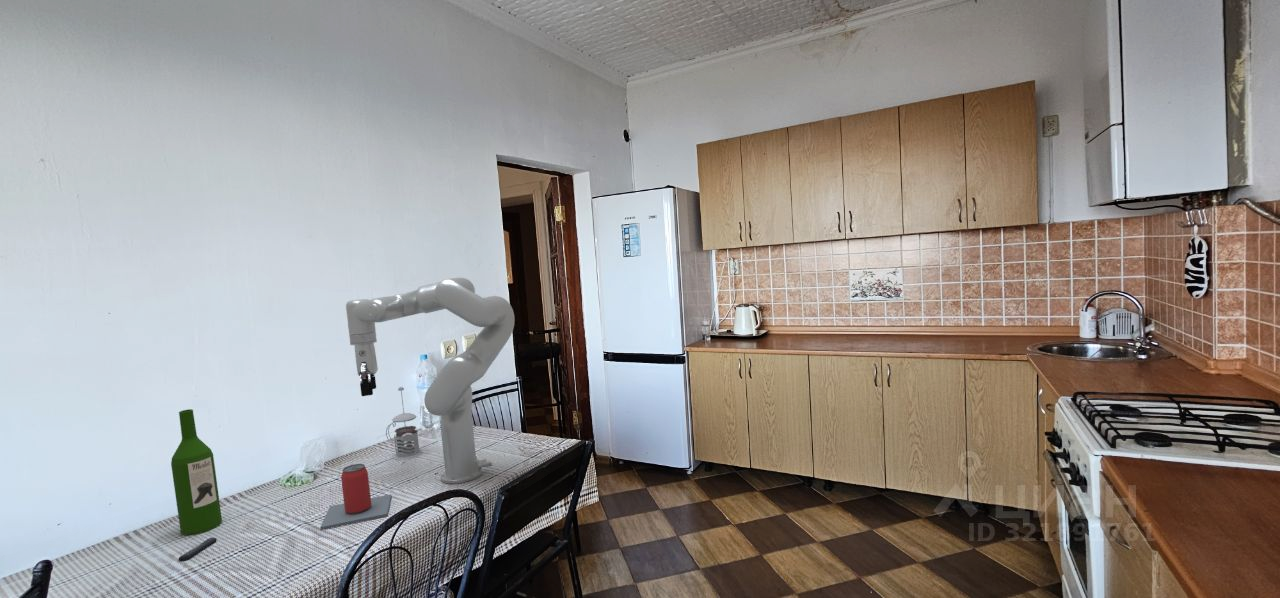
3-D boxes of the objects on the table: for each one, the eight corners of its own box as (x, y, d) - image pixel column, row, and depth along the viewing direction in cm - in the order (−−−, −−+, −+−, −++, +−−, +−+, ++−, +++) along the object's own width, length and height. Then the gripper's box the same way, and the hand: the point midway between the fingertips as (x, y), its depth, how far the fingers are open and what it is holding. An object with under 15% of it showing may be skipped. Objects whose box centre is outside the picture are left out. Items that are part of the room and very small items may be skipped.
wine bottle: (194, 537, 147) (178, 416, 145) (173, 533, 150) (156, 415, 148) (229, 521, 155) (214, 406, 153) (208, 518, 159) (193, 405, 156)
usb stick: (208, 542, 144) (207, 537, 144) (218, 542, 144) (217, 536, 144) (177, 562, 135) (176, 556, 135) (188, 562, 135) (187, 556, 135)
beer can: (360, 515, 151) (355, 472, 150) (339, 514, 152) (334, 471, 152) (376, 504, 158) (372, 462, 157) (356, 503, 159) (351, 462, 158)
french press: (416, 459, 196) (408, 389, 194) (383, 461, 196) (375, 391, 194) (427, 449, 205) (420, 382, 203) (395, 451, 206) (388, 385, 204)
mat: (391, 496, 164) (391, 494, 164) (387, 516, 151) (387, 513, 151) (330, 508, 159) (329, 506, 159) (320, 530, 146) (320, 527, 146)
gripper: (373, 340, 169) (379, 396, 170) (378, 334, 185) (384, 385, 187) (345, 343, 167) (352, 400, 168) (353, 337, 183) (359, 388, 184)
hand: (369, 392), depth 177 cm, fingers open, 9 cm apart
